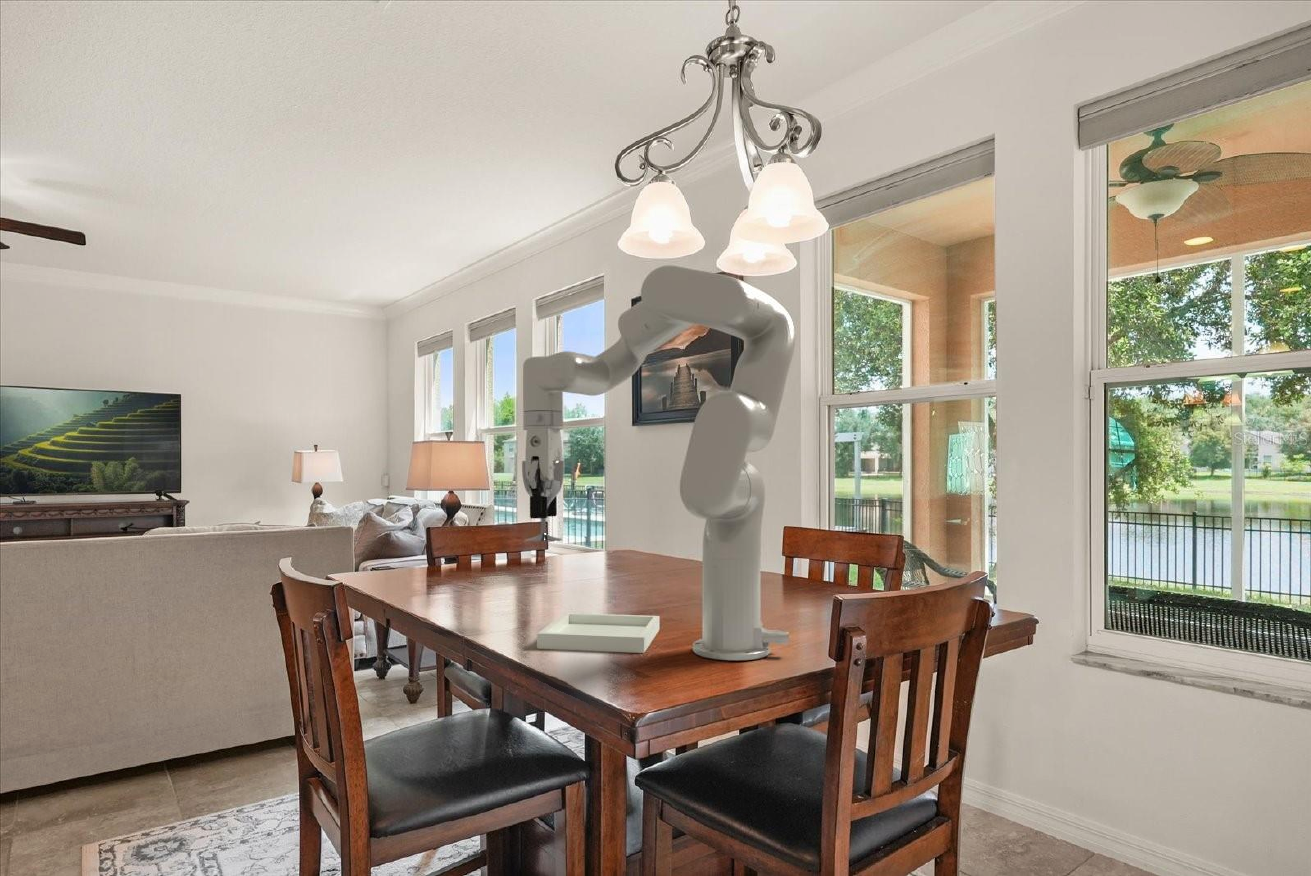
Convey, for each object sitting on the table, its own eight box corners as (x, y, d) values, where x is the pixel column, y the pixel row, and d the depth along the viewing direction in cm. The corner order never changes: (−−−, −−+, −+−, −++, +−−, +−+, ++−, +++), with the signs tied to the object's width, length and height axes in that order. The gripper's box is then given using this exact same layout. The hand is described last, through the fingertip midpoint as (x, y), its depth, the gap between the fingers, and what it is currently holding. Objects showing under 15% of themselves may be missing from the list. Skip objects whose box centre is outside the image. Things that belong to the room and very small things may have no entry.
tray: (659, 629, 142) (659, 616, 142) (644, 653, 124) (644, 637, 124) (565, 626, 144) (565, 612, 144) (537, 648, 126) (537, 633, 127)
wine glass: (540, 537, 150) (540, 461, 150) (573, 539, 146) (572, 460, 146) (513, 541, 143) (513, 461, 144) (546, 542, 139) (546, 460, 140)
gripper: (549, 418, 136) (549, 520, 135) (573, 424, 153) (574, 514, 152) (509, 419, 137) (509, 520, 137) (537, 425, 154) (538, 514, 153)
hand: (543, 516), depth 144 cm, fingers closed on wine glass, 5 cm apart
